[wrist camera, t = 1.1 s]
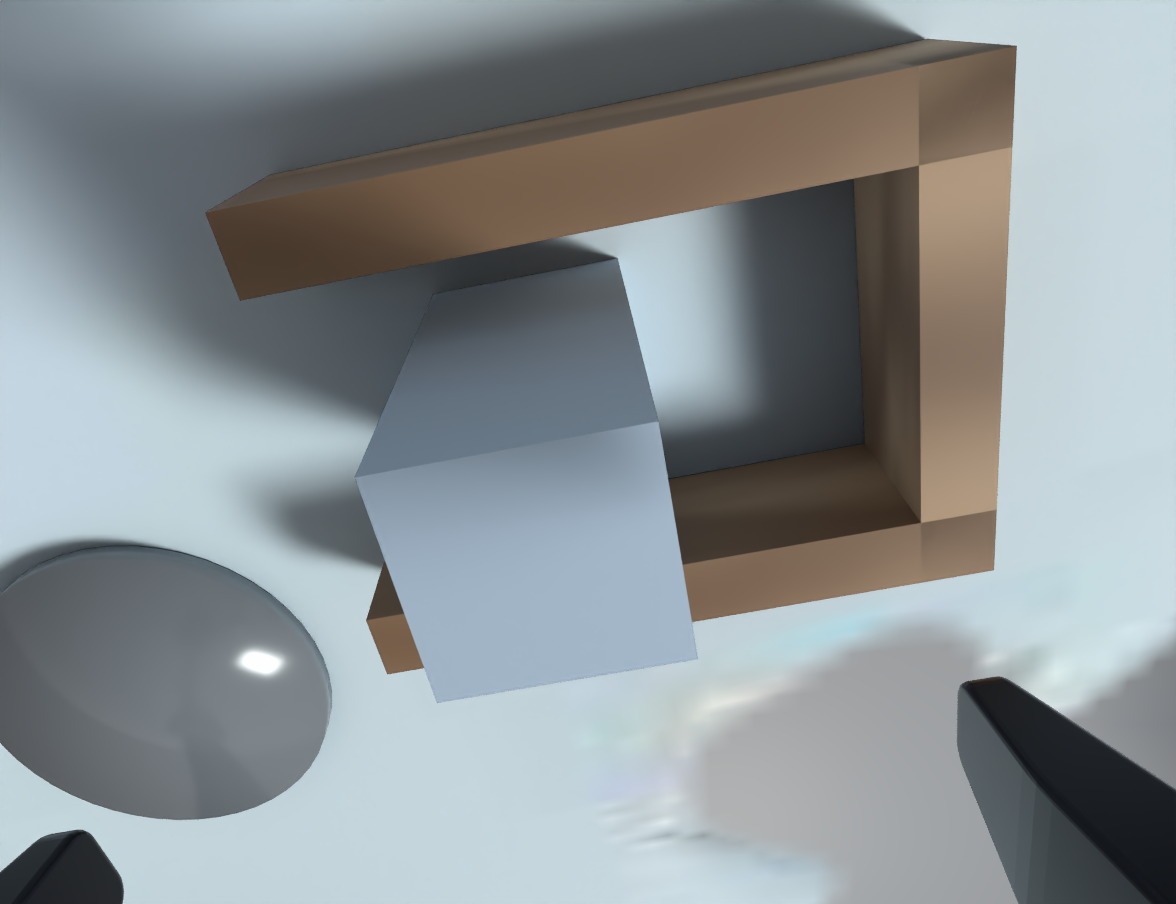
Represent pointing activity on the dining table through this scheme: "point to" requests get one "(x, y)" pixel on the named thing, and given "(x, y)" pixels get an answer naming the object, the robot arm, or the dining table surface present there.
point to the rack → (715, 177)
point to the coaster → (158, 683)
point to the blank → (528, 489)
